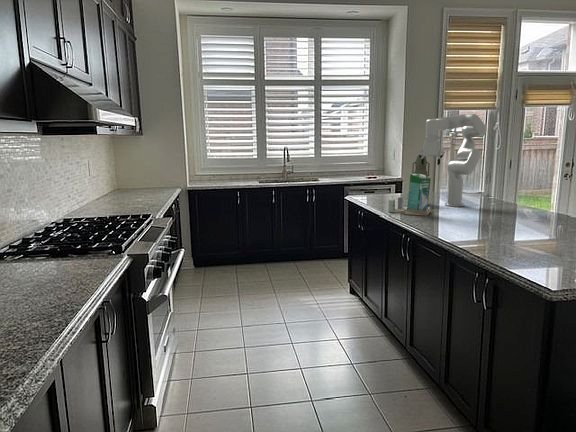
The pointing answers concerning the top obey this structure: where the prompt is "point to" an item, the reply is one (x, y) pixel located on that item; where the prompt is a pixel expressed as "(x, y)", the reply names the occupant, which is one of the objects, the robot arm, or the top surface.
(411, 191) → the milk carton
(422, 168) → the thermos
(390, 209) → the carton sled
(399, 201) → the cube sled
